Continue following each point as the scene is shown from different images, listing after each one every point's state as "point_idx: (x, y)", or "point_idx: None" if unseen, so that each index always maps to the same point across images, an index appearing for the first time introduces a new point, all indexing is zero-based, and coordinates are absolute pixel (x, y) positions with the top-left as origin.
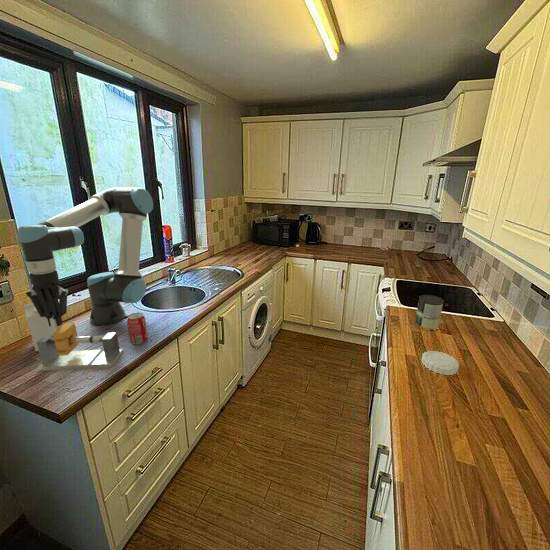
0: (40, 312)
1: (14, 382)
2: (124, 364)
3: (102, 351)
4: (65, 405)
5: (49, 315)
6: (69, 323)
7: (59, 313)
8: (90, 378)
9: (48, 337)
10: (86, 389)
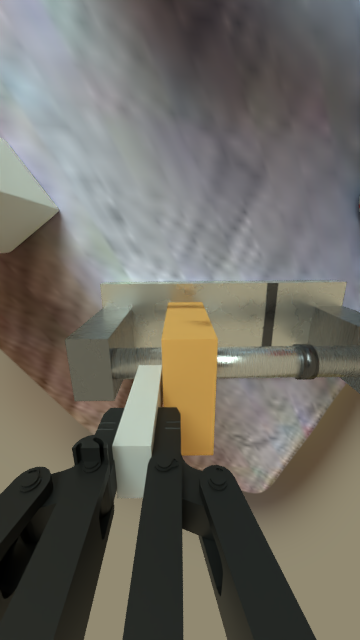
0: (16, 577)
1: (88, 408)
2: None
3: (276, 295)
4: (262, 481)
5: (110, 524)
6: (183, 339)
7: (211, 553)
8: (278, 406)
9: (98, 365)
10: (285, 442)
